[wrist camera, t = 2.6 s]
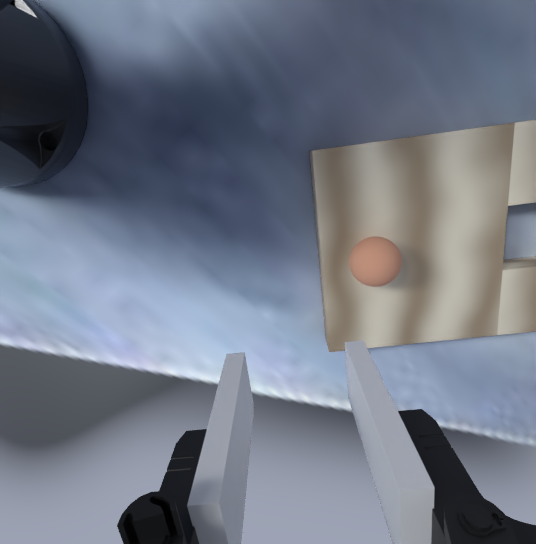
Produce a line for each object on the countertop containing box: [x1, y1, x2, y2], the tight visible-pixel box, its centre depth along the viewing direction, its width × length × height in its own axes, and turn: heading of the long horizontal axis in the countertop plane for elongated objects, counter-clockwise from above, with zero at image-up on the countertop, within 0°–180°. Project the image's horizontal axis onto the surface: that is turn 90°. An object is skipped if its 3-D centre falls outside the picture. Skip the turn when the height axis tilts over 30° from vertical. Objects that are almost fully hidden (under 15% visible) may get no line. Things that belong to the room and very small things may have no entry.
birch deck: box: [309, 120, 536, 352], centre depth 30 cm, size 24×18×2 cm
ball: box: [349, 236, 402, 287], centre depth 27 cm, size 4×4×4 cm
